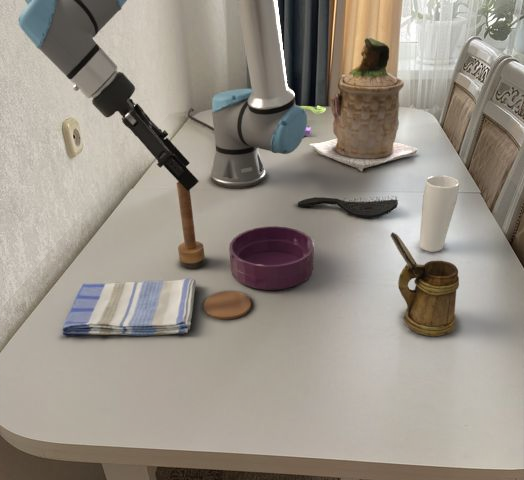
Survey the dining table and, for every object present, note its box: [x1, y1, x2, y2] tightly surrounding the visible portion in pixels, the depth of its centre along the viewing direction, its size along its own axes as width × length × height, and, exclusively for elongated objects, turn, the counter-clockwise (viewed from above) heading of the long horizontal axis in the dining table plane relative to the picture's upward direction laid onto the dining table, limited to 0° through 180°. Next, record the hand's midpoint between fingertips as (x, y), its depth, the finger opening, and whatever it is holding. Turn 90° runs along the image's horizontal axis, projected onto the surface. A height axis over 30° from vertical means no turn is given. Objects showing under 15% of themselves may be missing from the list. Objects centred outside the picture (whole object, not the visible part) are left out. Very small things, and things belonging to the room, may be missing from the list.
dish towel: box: [62, 278, 197, 337], centre depth 104 cm, size 17×24×3 cm
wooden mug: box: [390, 232, 460, 337], centre depth 94 cm, size 9×14×18 cm, turn 88°
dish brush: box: [176, 181, 205, 270], centre depth 113 cm, size 5×5×18 cm
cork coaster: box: [203, 290, 252, 321], centre depth 105 cm, size 9×9×1 cm
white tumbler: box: [418, 175, 460, 253], centre depth 117 cm, size 7×7×15 cm
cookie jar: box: [309, 37, 418, 172], centre depth 160 cm, size 25×25×32 cm
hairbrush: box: [297, 195, 399, 219], centre depth 137 cm, size 8×4×25 cm
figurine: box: [300, 105, 327, 137], centre depth 191 cm, size 18×27×6 cm
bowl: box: [228, 225, 315, 291], centre depth 114 cm, size 17×17×6 cm
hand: (188, 176), depth 107 cm, fingers open, 13 cm apart
